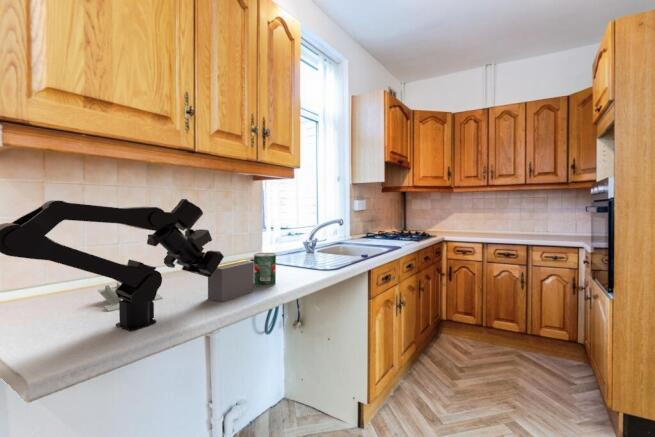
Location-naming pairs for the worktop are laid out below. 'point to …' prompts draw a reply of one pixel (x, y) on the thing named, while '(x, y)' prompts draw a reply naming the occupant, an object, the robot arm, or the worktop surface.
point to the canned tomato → (264, 269)
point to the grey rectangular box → (231, 280)
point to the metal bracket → (115, 297)
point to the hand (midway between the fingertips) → (209, 275)
